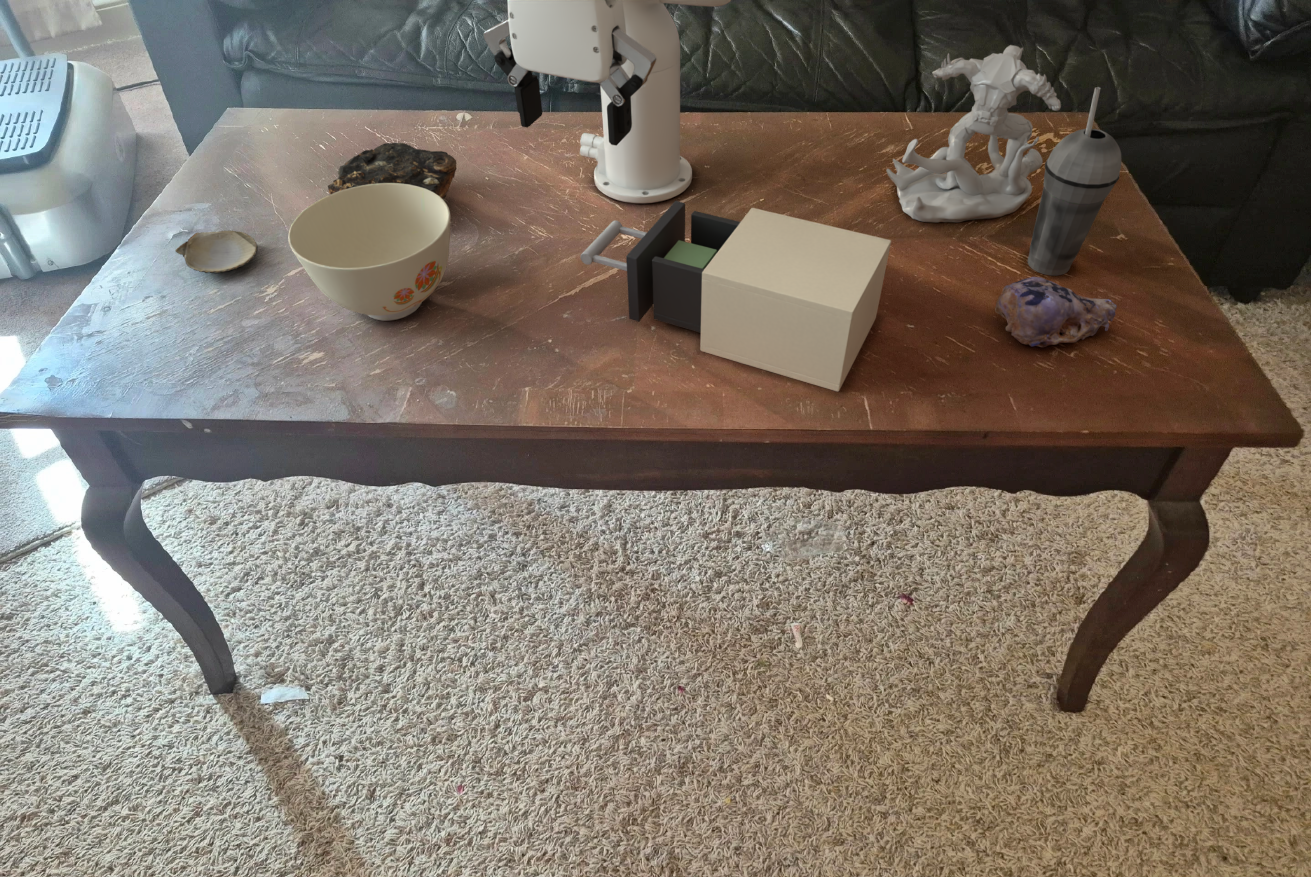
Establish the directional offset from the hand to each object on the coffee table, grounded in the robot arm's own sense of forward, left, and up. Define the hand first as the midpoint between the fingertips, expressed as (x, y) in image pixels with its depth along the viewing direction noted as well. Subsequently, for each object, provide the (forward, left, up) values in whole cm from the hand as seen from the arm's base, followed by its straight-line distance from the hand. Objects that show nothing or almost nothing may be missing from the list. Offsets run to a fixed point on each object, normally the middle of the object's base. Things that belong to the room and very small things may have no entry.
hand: (575, 129), depth 86 cm
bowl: (-17, -13, -18) cm, 28 cm away
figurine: (+34, +34, -18) cm, 51 cm away
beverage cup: (+46, +24, -18) cm, 55 cm away
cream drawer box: (+24, 0, -17) cm, 30 cm away
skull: (+48, +12, -18) cm, 52 cm away
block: (+13, 0, -15) cm, 20 cm away
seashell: (-40, -15, -18) cm, 46 cm away
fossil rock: (-28, +3, -18) cm, 33 cm away
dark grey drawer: (+12, 0, -16) cm, 20 cm away
